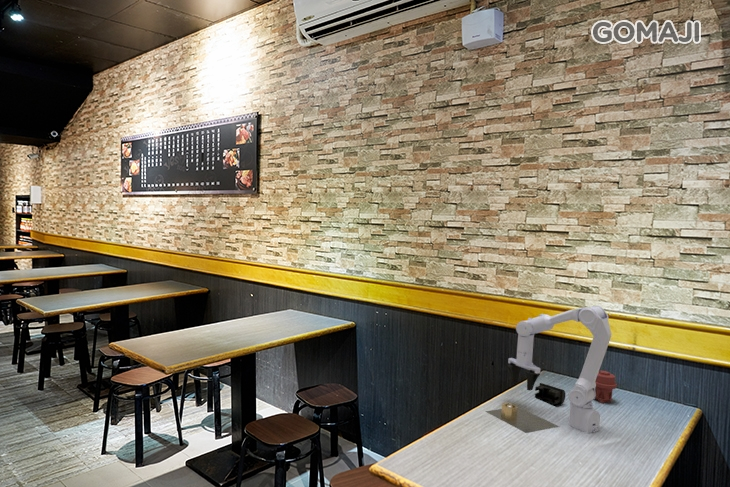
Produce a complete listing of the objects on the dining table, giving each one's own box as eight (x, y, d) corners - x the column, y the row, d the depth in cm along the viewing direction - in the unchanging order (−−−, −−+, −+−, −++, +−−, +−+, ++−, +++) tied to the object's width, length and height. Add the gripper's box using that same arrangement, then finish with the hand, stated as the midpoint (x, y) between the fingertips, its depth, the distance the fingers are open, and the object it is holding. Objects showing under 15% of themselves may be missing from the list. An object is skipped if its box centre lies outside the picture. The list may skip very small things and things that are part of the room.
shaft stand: (559, 430, 169) (560, 415, 169) (525, 437, 162) (527, 421, 162) (516, 410, 187) (517, 396, 187) (484, 415, 179) (486, 400, 179)
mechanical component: (604, 406, 198) (584, 397, 207) (620, 403, 202) (600, 395, 211) (606, 376, 197) (586, 369, 206) (623, 374, 202) (602, 367, 211)
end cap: (565, 405, 196) (566, 388, 196) (556, 408, 192) (557, 391, 192) (542, 397, 204) (543, 381, 204) (533, 400, 199) (534, 384, 199)
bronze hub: (519, 418, 174) (520, 407, 174) (507, 420, 172) (508, 408, 172) (510, 413, 179) (511, 402, 179) (498, 414, 177) (499, 403, 177)
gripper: (547, 355, 181) (544, 391, 182) (518, 346, 194) (516, 379, 194) (533, 357, 178) (531, 393, 178) (505, 347, 191) (502, 381, 191)
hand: (522, 386), depth 186 cm, fingers open, 7 cm apart
